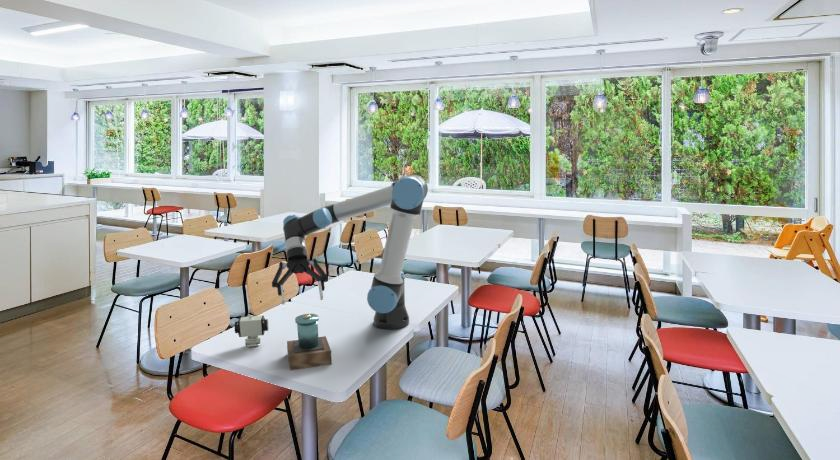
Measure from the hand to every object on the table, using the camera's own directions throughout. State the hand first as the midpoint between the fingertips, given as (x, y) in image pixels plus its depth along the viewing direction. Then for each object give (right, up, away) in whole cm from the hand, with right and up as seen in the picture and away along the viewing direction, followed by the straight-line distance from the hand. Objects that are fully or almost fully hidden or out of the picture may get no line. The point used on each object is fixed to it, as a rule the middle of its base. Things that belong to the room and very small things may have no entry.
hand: (302, 300), depth 179 cm
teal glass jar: (+3, -15, -3) cm, 16 cm away
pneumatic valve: (-21, -19, +11) cm, 30 cm away
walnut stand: (+3, -21, -2) cm, 21 cm away
